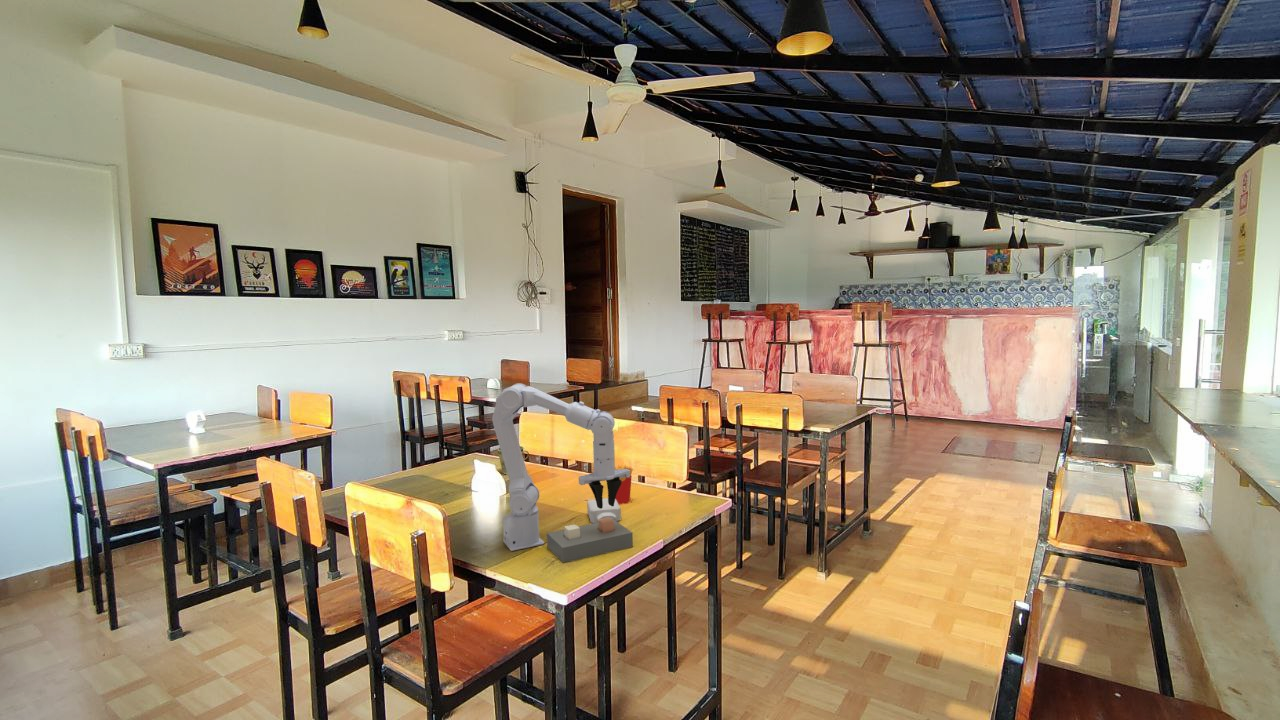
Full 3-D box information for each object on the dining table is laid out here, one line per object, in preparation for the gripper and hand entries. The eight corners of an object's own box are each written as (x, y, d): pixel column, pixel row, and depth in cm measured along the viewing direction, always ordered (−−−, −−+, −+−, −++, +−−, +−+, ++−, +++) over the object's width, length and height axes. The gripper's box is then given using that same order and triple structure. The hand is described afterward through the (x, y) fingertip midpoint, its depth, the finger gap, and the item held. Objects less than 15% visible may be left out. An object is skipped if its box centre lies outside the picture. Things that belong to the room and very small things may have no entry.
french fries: (609, 505, 201) (608, 469, 200) (606, 501, 205) (605, 466, 204) (634, 502, 203) (633, 467, 202) (631, 498, 207) (630, 464, 206)
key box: (563, 562, 157) (562, 547, 156) (547, 547, 167) (546, 532, 167) (632, 546, 166) (632, 532, 166) (613, 532, 176) (613, 519, 176)
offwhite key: (568, 541, 162) (568, 530, 161) (564, 537, 165) (564, 526, 164) (580, 538, 163) (579, 527, 163) (575, 535, 166) (575, 524, 166)
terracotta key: (603, 533, 166) (603, 523, 166) (598, 530, 169) (598, 519, 169) (614, 531, 168) (613, 520, 168) (609, 528, 171) (608, 517, 170)
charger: (593, 531, 179) (587, 514, 193) (624, 528, 180) (616, 511, 195) (592, 515, 178) (587, 499, 193) (624, 512, 180) (616, 497, 195)
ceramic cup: (493, 475, 240) (492, 450, 239) (507, 469, 249) (506, 444, 248) (523, 477, 236) (522, 452, 235) (535, 471, 245) (534, 446, 244)
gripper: (585, 464, 160) (586, 515, 161) (634, 456, 167) (635, 505, 168) (574, 458, 166) (576, 507, 167) (623, 451, 173) (624, 498, 174)
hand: (605, 506), depth 168 cm, fingers open, 3 cm apart
